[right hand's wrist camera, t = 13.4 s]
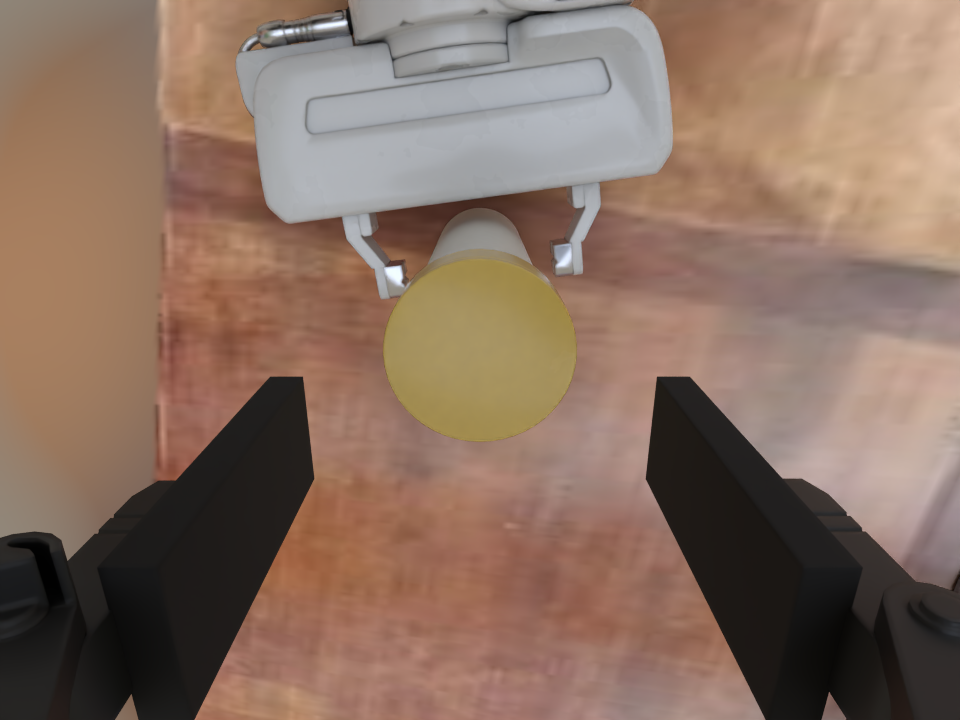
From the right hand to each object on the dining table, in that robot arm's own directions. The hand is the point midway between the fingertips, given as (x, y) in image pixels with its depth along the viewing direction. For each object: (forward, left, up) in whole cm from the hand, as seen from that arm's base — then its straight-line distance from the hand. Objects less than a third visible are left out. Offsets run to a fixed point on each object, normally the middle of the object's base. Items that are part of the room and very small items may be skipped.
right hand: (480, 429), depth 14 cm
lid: (0, 0, -6) cm, 6 cm away
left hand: (-1, 0, -19) cm, 19 cm away
